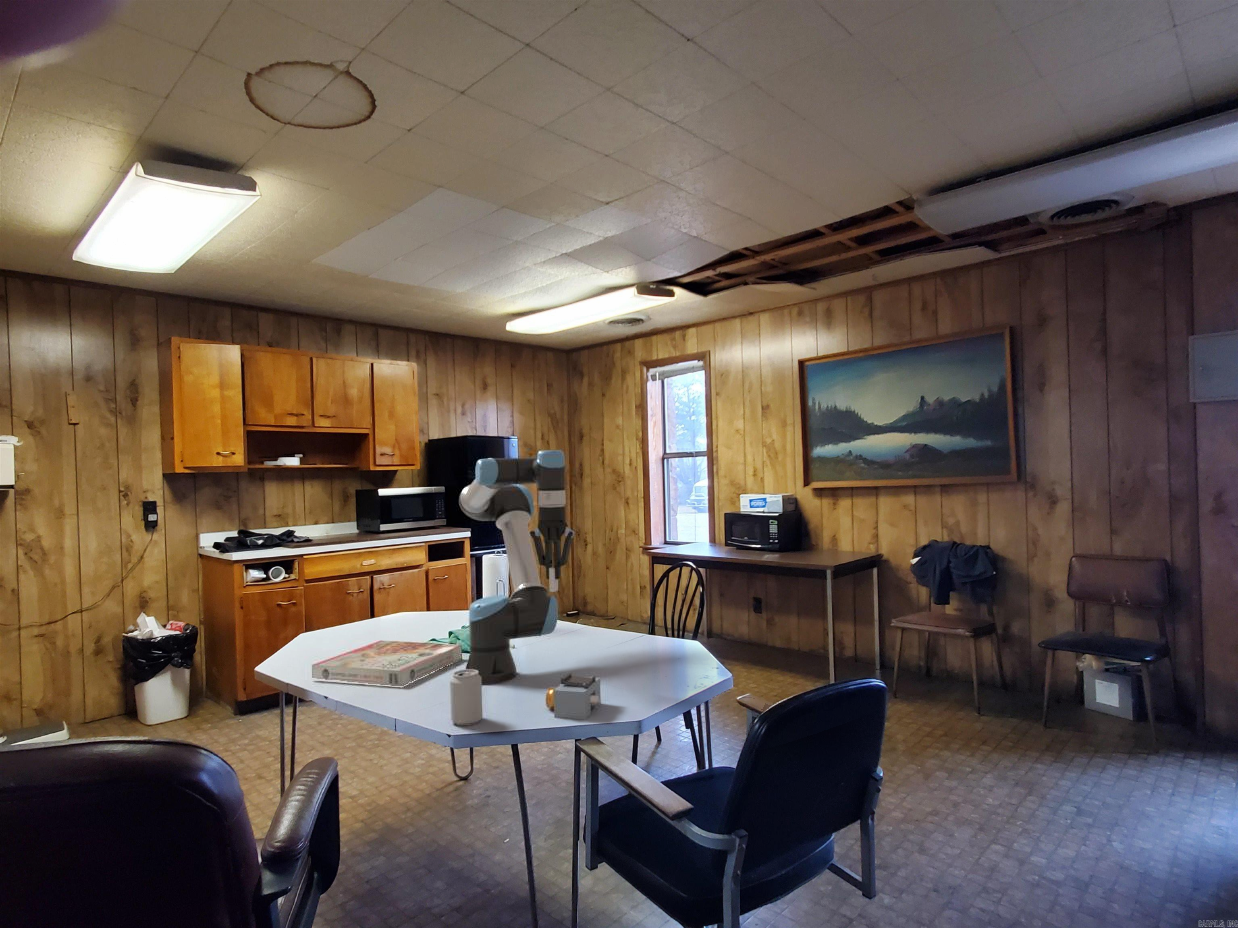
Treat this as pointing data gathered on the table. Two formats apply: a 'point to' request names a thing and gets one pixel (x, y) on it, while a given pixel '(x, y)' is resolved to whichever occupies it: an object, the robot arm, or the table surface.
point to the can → (466, 697)
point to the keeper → (577, 680)
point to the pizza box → (388, 662)
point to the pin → (550, 699)
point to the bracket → (575, 700)
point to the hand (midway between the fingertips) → (553, 590)
